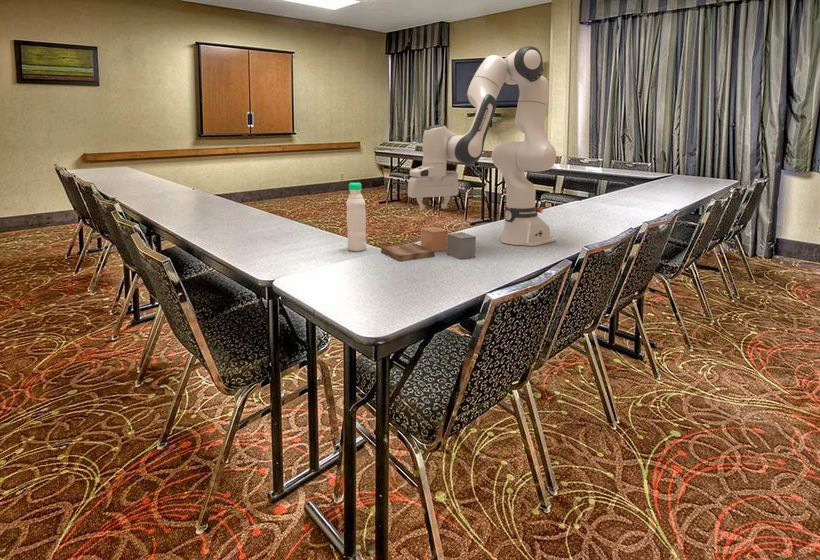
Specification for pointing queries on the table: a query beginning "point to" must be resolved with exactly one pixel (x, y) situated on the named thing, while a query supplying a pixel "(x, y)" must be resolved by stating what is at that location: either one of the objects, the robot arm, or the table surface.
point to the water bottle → (356, 218)
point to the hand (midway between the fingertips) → (433, 209)
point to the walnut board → (407, 251)
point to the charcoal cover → (461, 245)
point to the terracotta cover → (434, 238)
